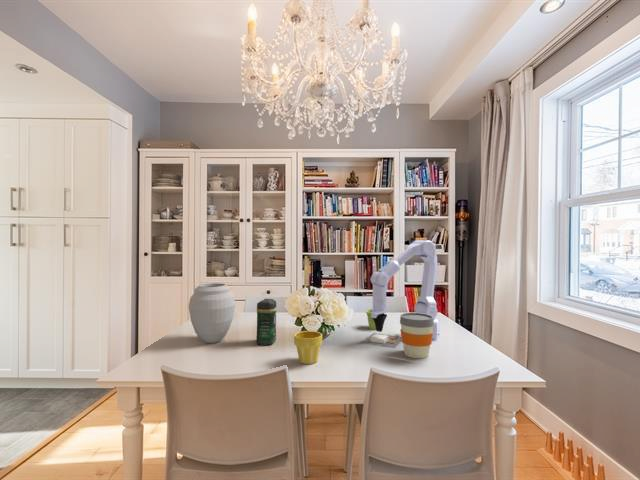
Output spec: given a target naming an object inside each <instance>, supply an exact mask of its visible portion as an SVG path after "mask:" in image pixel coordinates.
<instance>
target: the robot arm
mask: <svg viewBox="0 0 640 480" xmlns="http://www.w3.org/2000/svg"><path fill="white" fill-rule="evenodd" d="M436 250H437V246H436V244H435V243H434V242H433V241H431V240H427V239H426V240H420V239H416V240H413V242H412V243H410V244H409V245H408V247H407V248H406V249H404V251H403V252H401V253H400V254H399V256H398V257H397V258H395V259H393V260H392V259H391V260H388V261H386V262H385V263H386V264H385V265H383V266H382V267H381V268H379V269H378V271H375V272H373V273H372V274H371V276H370V280H369V281H370V283H371V284H372V308H370V309H369V310H370V311H372V313H371V318H373V320H374V323H375V327H376V332H378V333H379V332H380V333H381V332H383V328H384V325H385V321H386V319H387V317H388V314H386V313H387V312H388V308H387V285H388V284H389V281H390V279H391V278H393V276H394V275H396V274H397V273H399V271H400V270H401V269H400V268H401V266H402V265H403V264H405V263H406V262H407V261H408V260H409V259H411V258H412V257H414V256H419V257H420V259H422V261H423V262H424V264H423V272H422V279H421V288H420V289H421V291H420V295H419V296H418V297H417V299H416V303H415V305H414V307H413V309H414V313H422V314H427V315H430V316H432V317H433V323H434V325H433V327H432V332H433V336H432V342H433V341H434V342H437V341H438V340H439V338H440V319H437V318H436V317H437V315H438V309H437V305H438V304H437V302H436V300H435V298H434V293H435V285H436V284H435V283H436V276H437V268H438V256H437V252H436ZM383 313H384V314H383Z"/></svg>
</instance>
